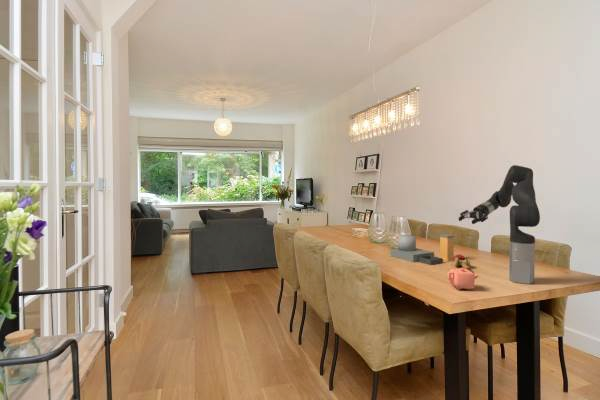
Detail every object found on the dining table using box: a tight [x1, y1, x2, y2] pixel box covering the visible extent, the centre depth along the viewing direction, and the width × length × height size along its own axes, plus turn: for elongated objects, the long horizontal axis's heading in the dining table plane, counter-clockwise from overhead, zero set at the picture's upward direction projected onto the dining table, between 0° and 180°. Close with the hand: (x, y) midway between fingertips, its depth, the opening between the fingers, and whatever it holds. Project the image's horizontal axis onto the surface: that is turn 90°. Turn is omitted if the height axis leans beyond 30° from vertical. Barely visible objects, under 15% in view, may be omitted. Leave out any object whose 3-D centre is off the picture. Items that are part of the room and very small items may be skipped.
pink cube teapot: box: [447, 267, 480, 291], centre depth 138 cm, size 8×12×8 cm, turn 85°
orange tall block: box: [439, 233, 455, 262], centre depth 189 cm, size 5×5×14 cm
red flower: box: [452, 253, 472, 272], centre depth 170 cm, size 8×6×18 cm
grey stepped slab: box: [390, 234, 444, 266], centre depth 192 cm, size 16×27×12 cm, turn 26°
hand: (465, 221), depth 193 cm, fingers open, 8 cm apart
